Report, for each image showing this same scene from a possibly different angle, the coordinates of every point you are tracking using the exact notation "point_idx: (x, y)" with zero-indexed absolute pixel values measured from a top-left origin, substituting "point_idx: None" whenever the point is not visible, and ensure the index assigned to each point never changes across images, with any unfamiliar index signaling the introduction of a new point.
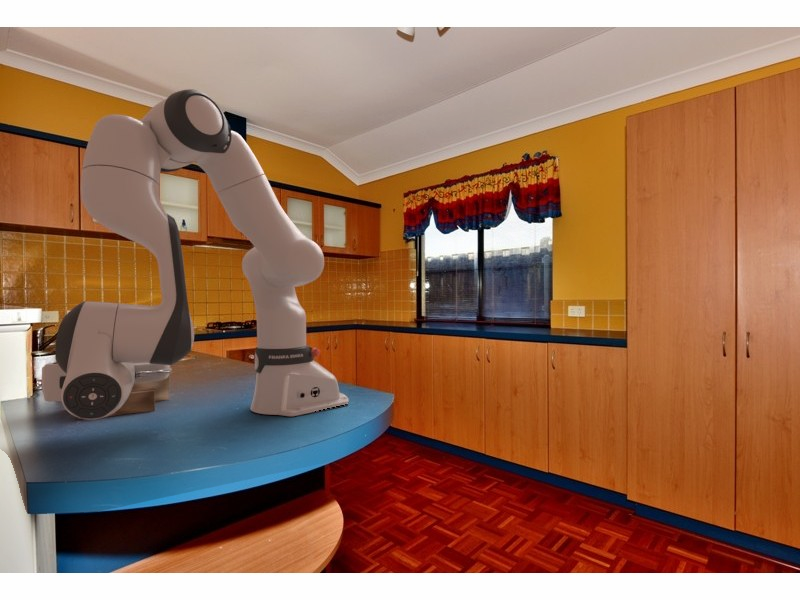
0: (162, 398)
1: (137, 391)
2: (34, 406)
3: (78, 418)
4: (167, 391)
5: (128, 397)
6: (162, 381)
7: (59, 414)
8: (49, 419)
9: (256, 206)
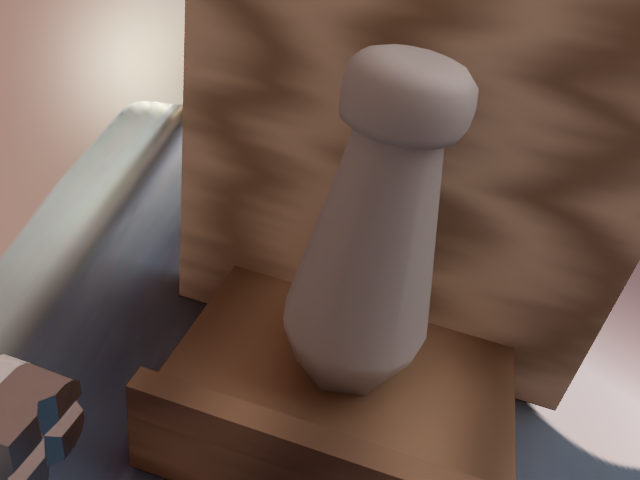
0: (528, 395)
1: (434, 335)
2: (136, 184)
3: (132, 460)
4: (564, 379)
5: None
6: (562, 330)
7: (133, 315)
8: (69, 357)
9: None
